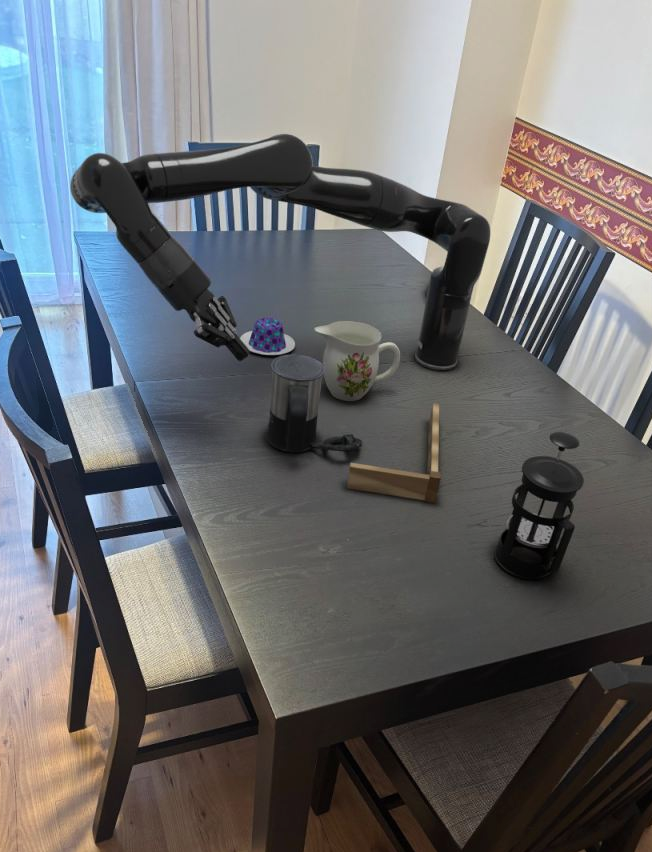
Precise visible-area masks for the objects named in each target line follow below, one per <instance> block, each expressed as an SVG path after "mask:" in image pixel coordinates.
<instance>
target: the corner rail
mask: <svg viewBox="0 0 652 852" xmlns="http://www.w3.org/2000/svg"><path fill="white" fill-rule="evenodd" d="M427 440H428V441H427V465H426V473H418V472H413V471H407V470H399V469H393V468H387V467H381V466H374V465H369V464H362V463H357V462H356V463H355V462H350V464H349V471H348V477H347V478H348V479H347V484H346V489H350V490H356V491H363V492H368V493H375V494H382V495H388V496H394V497H400V498H401V497H402V498H407V499H414V500H419V501H424V502H427V503H432V504H435V503H436V501H437V495H438V490H439V487H440V483H441V475H442V473H441V471H439V448H440V447H439V441H440V404H439V403H432V406H431V412H430V416H429V421H428V437H427Z"/></svg>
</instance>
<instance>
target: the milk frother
mask: <svg viewBox="0 0 652 852" xmlns="http://www.w3.org/2000/svg"><path fill="white" fill-rule="evenodd" d="M270 363H271V364H270V367H271V369H272V372H271V373H272V374H271V388H270V400H269V402H270V404H269V417H268V418H269V420H268V426H267V433H266V441H267V442H268V443H269V445H270V446H272V447H273V448H275V449H277V450H279V451H283V452H288V453H297V454H298V453H302V452H307V451H310V450H311V449H313V448H317V449H322V450H326V451H327V450H328V451H333V452H334V451H335V452H336V451H338V452H345V451H351V450H356V449H359V448H361V447H362V446H363V440H362V439H360V438H358V437H355V436H354V434H352V433H346V434H343V435H342V436H332V437H329V438H326V439H325V440H323V441H322V443H321V444H320V443H317V442H318V438H317V428H318V427H317V426H318V415H319V407H320V400H321V399H320V398H321V389H322V380H323V376H324V371H325V369H324V366H323V363H321V362H320V361H319V360H317V359H315V358H314V357H313V358H312V357H311V356H307V355H302V354H282V355H279V356H277V357H275V358H274V359H273V360H272V361H271V362H270ZM337 442H342V445H339V444H334V443H337Z"/></svg>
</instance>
